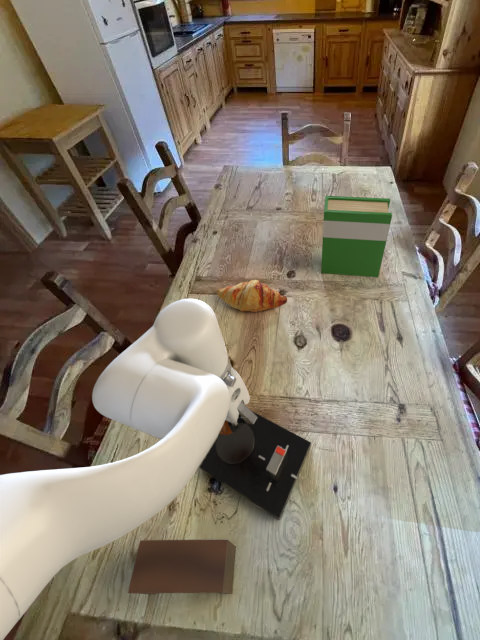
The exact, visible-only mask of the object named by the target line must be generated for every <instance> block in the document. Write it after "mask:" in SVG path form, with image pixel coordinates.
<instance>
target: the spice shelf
mask: <svg viewBox="0 0 480 640" xmlns="http://www.w3.org/2000/svg"><path fill="white" fill-rule="evenodd" d="M236 551H237V546H236V545H235V544H234V543H233V542H231V541H230V540H229V539H228V538H227V539H226V538H225V539H224V538H221V539H219V538H218V539H217V538H213V539H211V538H210V539H140V540H139V543H138V548H137V552H136V556H135V561H134V565H133V569H132V573H131V578H130V582H129V586H128V590H127V594H135V595H136V594H137V595H156V594H224V595H232V594H233V593H234V591H233V590H234V580H235V579H234V578H235V567H236V566H235V565H236Z"/></svg>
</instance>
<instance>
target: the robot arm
mask: <svg viewBox="0 0 480 640" xmlns="http://www.w3.org/2000/svg"><path fill="white" fill-rule="evenodd" d="M91 401H92V404H93V407H94V409H95V410H96V411H97V412H98V413H99V414H100V415H102V416H104V417H105V418H107V419H110V420H113V421H114V422H116V423H120V424H122V425H124V426H126V427H130V428H132V429H134V430H136V431H139V432H141V433H144V434H146V435H149V436H151V437H153V438H156V439H158V441H157V442H156V443H155V444H152V446H150V447H148V448H146V449H145V450H143V451H141V452H138V453H136V454H134V455H132V456H129V457H125V458H123V459H120V460H117V461H114V462H113V461H112V462H108V463H103V464H98V465H91V466H84V467H70V468H69V467H68V468H57V469H41V470H40V469H39V470H31V471H30V470H29V471H21V472H10V473H5V474H0V640H5V638H6V637H7V636H8V634H9V633H10V632H11V630H12V629H13V628H14V627H15V626H16V625H17V623H18V622H19V621H20V620H21V618H22V617H23V616H24V615H25V613H26V612H27V611H28V610H29V608H30V607H31V605H32V604H33V603H34V602H35V601H36V599H37V598H38V596H40V594H41V593H42V592H43V590H44V589H45V588H46V586H47V585H48V584H49V583H50V582H51V580H52V579H53V578H54V577H55V576H56V575H57V574H58V573H59V572H60V571H61V570H62V569H63V568H64V567H65V566H67V565H68V564H70V563H71V562H73V561H75V560H77V559H78V558H80V557H83V556H84V555H86V554H89V553H91V552H94V551H96V550H98V549H101V548H103V547H105V546H107V545H110V544H111V543H113V542H115V541H117V540H119V539H120V538H122V537H124V536H127V535H128V534H130V533H131V532H132V531H134V530H136V529H137V528H139V527H140V526H142V525H144V523H146V522H148V521H149V520H151V519H152V518H153V517H155V516H156V515H158V514H159V513H160V512H161V511H163V510H164V509H165V508H166V507H168V505H170V504H171V503H172V502H173V501H174V500H175V499H176V498H177V497H178V496H179V495H180V494H181V493H182V491H183V490H184V489H185V488H186V487H187V485H189V482H190V481H191V480H192V478H193V476H194V475H195V473H196V472H197V470H198V469H199V468H200V465H201V464H202V462H203V460H204V459H205V457H206V455H207V454H208V452H209V451H210V449H211V447H212V446H213V444H214V442H215V441H216V439H217V437H218V434H219V432H220V430H221V428H222V426H223V424H224V422H225V420H226V421H228V422H229V423H228V425H229V427H230V429H231V431H232V432H233V433H235V432H236V431H237V429H238V428H239V429H240V428H241V427H242V425H243V424H245V422H246V423H248V424H252V425H254V423H255V421H256V419H257V416H256V415H255V414H254V413H253V412H254V411H253V412H252V410H251V409H250V408H249V407H247V405H249V402H250V401H251V396H250V393H249V390H248V389H247V386H246V384H245V382H244V380H243V378H242V377H241V376H240V374H239V373H238V371H237V370H236V369H234V368H233V367H232V364H231V359H230V357H229V354H228V351H227V347H226V344H225V340H224V338H223V335H222V331H221V328H220V325H219V322H218V318H217V316H216V314H215V312H214V310H213V308H212V307H211V306H210V305H209V304H208V303H206V302H205V301H203V300H200V299H198V298H182V299H178V300H176V301H173V302H171V303H169V304H168V305H166V306H165V307H163V308H162V310H160V312H159V313H158V314H157V316H156V317H155V320H154V322H153V325H152V326H151V327H150V328H149V329H148V330H146V331H145V332H144V333H143V334H142V335H141V336H140V337H139V338H137V340H135V341H134V342H133V343H131V344H130V345H129V346H128V347H127V348H126V349H125V350H123V351H122V352H121V353H119V355H117V357H115V358H114V359H113V360H112V361H111V362H110V363H109V364H108V365H107V366H106V367H105V369H104V370H103V371H102V372H101V373H100V375H99V376H98V378H97V379H96V382H95V384H94V386H93V389H92V393H91Z"/></svg>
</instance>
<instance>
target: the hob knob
mask: <svg viewBox="0 0 480 640" xmlns="http://www.w3.org/2000/svg"><path fill="white" fill-rule="evenodd" d="M287 459H288V458H287V450H285V449H283V448H281V447H280V446H277V447H276V450H275V452H274V454H273V456H272V458H271V460H270V462H269V464H268V466H267V468H266V471H267V474H268V477H270V478H272V479H273V480H275V481H278V478H279V476H280V474H281V472H282V470H283V467H284V465H285V463H286V461H287Z"/></svg>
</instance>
